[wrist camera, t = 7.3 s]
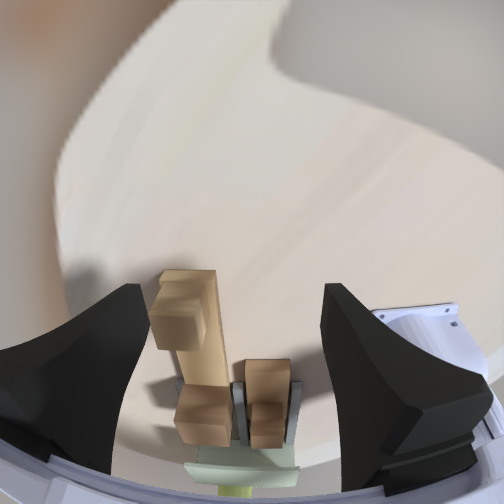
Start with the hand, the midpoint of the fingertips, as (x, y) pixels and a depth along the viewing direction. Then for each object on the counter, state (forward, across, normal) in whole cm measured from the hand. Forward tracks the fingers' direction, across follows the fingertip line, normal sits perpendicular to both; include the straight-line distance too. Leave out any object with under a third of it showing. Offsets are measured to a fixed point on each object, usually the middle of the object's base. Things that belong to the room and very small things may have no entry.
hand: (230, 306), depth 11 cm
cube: (+8, +4, +18) cm, 20 cm away
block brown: (+10, -1, +18) cm, 20 cm away
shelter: (+10, +1, +28) cm, 30 cm away
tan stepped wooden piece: (+10, +4, +12) cm, 16 cm away
